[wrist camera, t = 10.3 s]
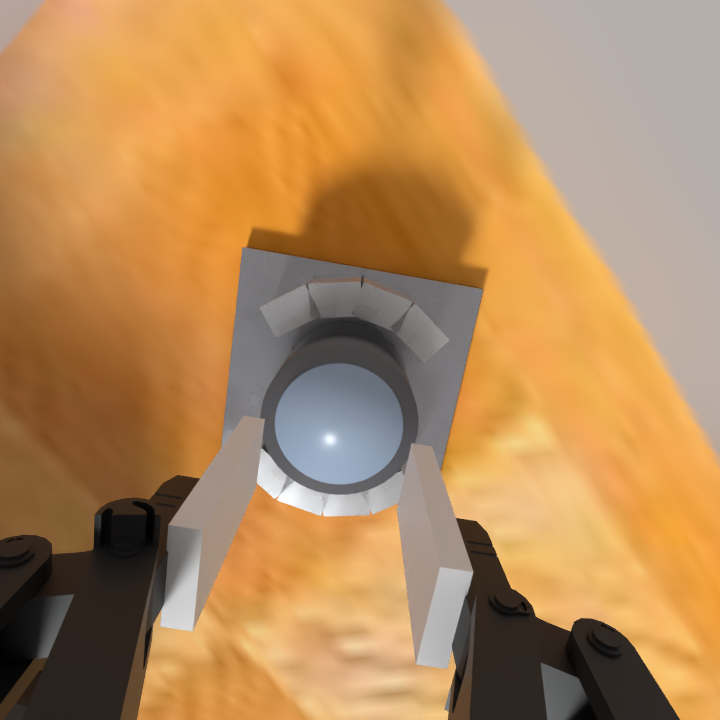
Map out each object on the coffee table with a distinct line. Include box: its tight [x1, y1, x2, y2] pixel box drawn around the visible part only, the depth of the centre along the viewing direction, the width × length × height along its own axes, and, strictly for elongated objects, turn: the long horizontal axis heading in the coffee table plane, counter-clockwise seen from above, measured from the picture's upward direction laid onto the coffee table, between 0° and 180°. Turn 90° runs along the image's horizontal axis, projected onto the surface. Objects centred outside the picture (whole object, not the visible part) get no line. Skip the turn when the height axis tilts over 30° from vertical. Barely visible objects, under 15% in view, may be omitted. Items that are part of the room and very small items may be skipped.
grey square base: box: [221, 247, 483, 516], centre depth 25 cm, size 13×13×5 cm
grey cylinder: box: [260, 323, 418, 495], centre depth 23 cm, size 7×7×6 cm
